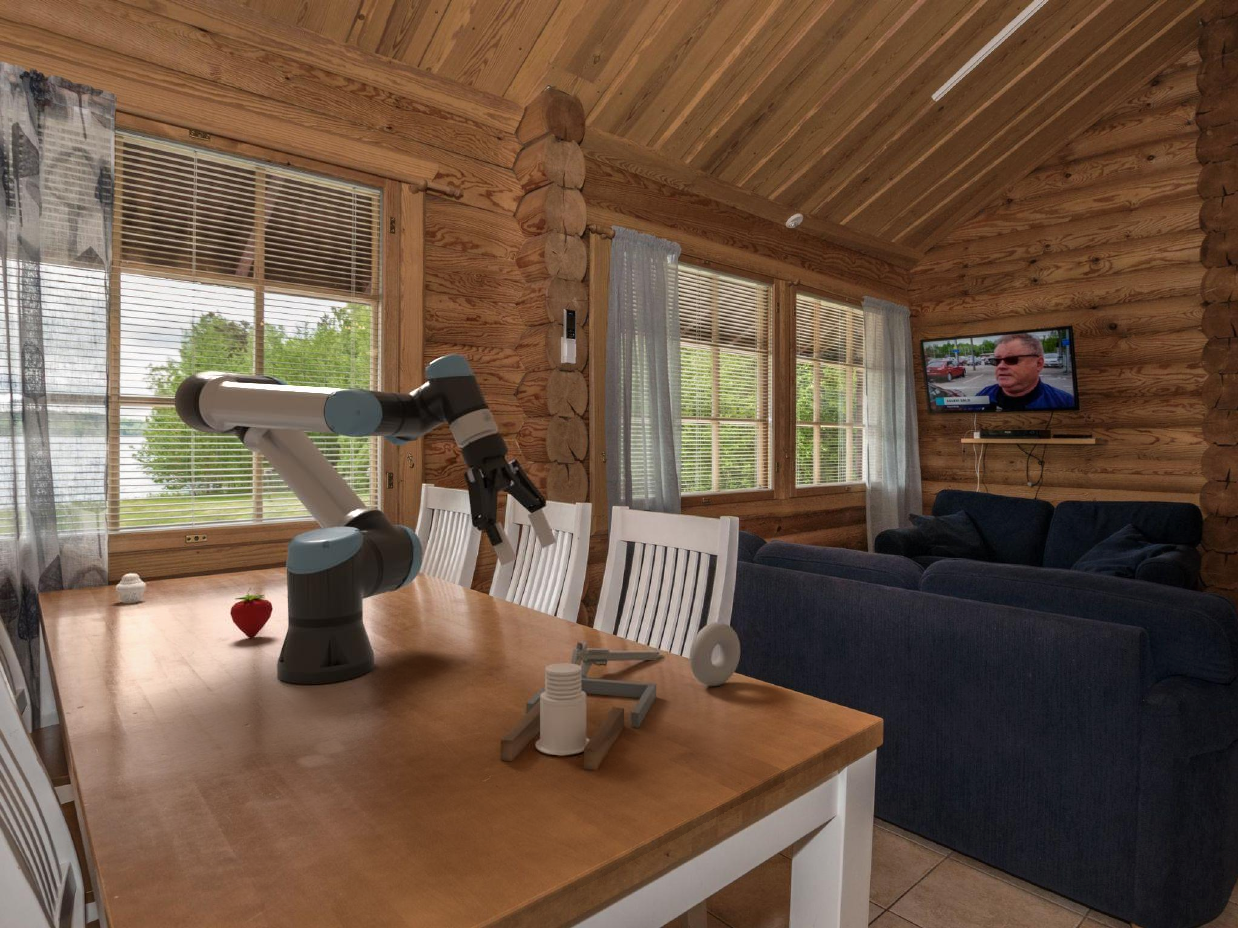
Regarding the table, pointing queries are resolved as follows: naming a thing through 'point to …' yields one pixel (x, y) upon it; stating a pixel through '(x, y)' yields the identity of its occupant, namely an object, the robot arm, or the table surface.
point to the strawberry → (251, 614)
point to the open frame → (615, 689)
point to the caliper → (606, 656)
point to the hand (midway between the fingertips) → (530, 553)
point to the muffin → (130, 588)
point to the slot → (592, 751)
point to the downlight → (562, 711)
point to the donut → (703, 654)
